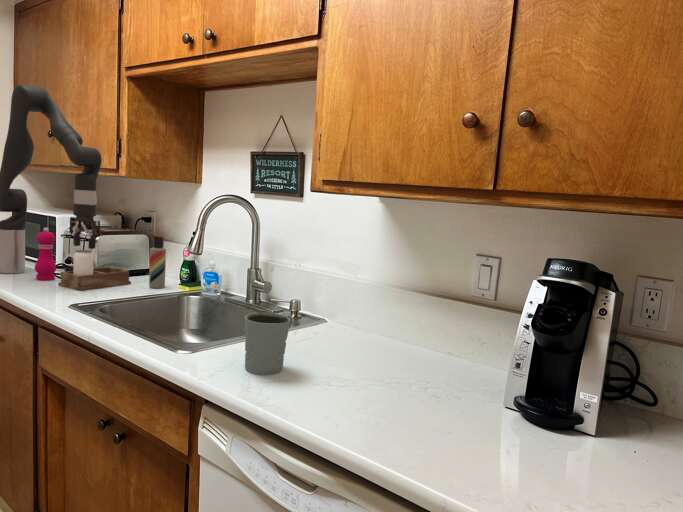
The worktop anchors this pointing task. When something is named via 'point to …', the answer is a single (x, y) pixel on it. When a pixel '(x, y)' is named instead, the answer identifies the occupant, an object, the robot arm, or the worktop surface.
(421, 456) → the worktop surface
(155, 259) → the striped water bottle
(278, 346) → the gray cup
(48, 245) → the pepper mill
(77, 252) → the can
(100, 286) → the caddy
